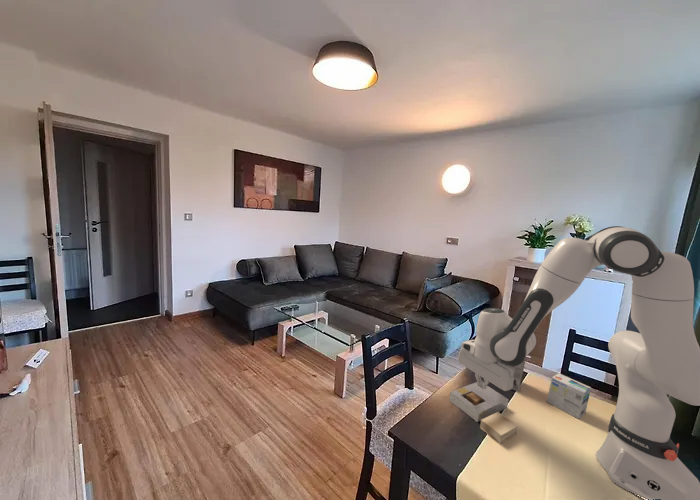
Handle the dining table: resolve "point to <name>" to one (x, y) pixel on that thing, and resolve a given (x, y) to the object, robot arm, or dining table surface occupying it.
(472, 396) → the walnut block
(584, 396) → the light bulb box
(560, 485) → the dining table surface
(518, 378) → the coffee box
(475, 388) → the plate
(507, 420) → the beige rectangular block
